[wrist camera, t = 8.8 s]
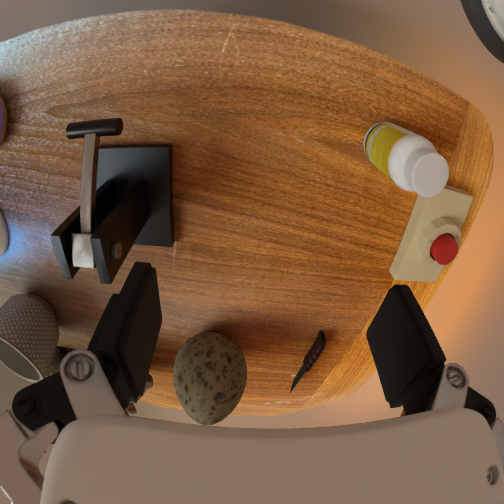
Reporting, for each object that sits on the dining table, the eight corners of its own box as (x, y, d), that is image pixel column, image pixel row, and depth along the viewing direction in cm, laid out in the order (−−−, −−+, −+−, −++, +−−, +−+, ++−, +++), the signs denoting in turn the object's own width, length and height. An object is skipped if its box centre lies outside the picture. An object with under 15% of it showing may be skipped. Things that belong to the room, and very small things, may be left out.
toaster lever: (78, 124, 20) (64, 121, 17) (126, 120, 20) (114, 115, 18) (74, 257, 23) (60, 264, 20) (119, 262, 23) (108, 270, 21)
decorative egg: (205, 362, 48) (197, 438, 36) (167, 328, 43) (148, 411, 31) (258, 347, 46) (260, 429, 33) (224, 307, 40) (216, 402, 28)
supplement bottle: (361, 168, 29) (401, 206, 21) (361, 120, 26) (407, 141, 18) (403, 167, 28) (450, 204, 20) (405, 122, 25) (458, 145, 17)
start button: (436, 231, 29) (443, 239, 28) (455, 235, 29) (462, 242, 28) (426, 256, 31) (432, 264, 30) (445, 258, 31) (451, 266, 30)
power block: (422, 178, 29) (439, 191, 26) (464, 190, 29) (481, 203, 26) (388, 270, 37) (399, 289, 34) (429, 272, 37) (441, 290, 34)
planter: (4, 276, 38) (-30, 324, 27) (52, 282, 38) (16, 341, 27) (32, 326, 45) (8, 373, 35) (79, 337, 46) (57, 391, 35)
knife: (291, 382, 53) (292, 394, 50) (286, 381, 53) (287, 394, 50) (324, 330, 44) (327, 345, 41) (319, 330, 43) (322, 344, 41)
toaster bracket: (90, 146, 27) (19, 192, 16) (171, 144, 27) (124, 191, 17) (102, 236, 33) (56, 304, 23) (174, 241, 34) (145, 319, 23)
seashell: (51, 365, 53) (38, 383, 47) (37, 337, 50) (22, 354, 44) (101, 376, 53) (89, 397, 46) (87, 346, 50) (72, 367, 43)
